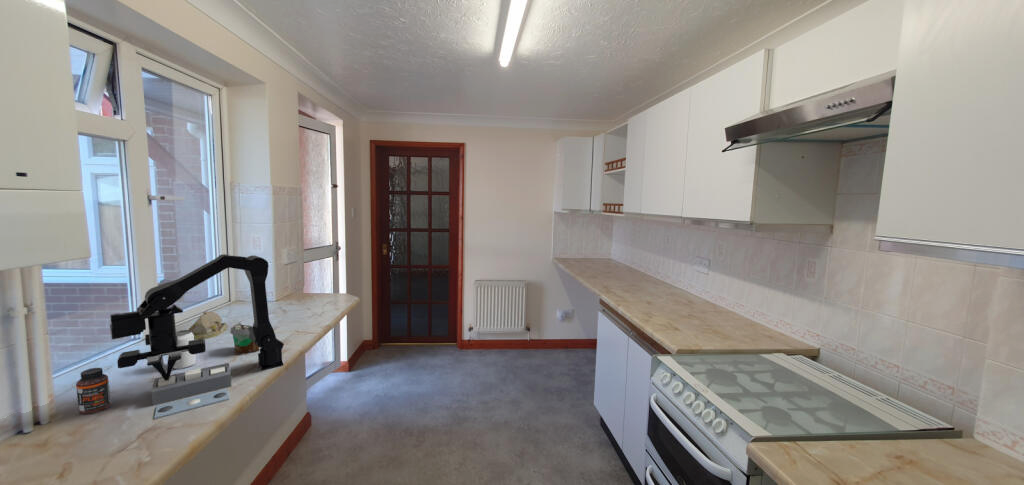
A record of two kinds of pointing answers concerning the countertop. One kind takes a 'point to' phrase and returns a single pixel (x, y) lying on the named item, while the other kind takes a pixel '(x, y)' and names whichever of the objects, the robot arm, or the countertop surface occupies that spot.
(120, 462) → the countertop surface
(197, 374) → the button middle
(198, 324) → the ceramic model
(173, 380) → the button
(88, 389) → the supplement bottle
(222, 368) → the button
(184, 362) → the can
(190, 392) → the button board
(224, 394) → the pattern card
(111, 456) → the countertop surface
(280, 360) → the robot arm
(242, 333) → the food container
